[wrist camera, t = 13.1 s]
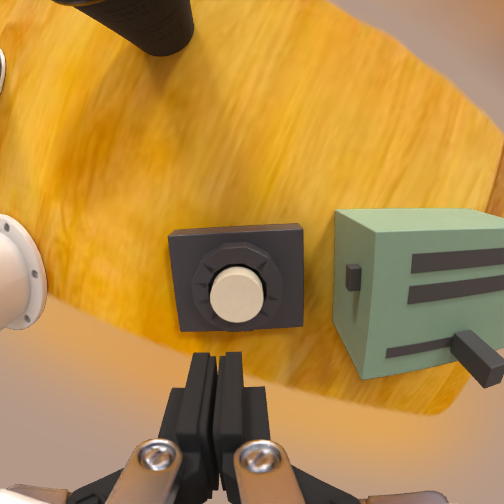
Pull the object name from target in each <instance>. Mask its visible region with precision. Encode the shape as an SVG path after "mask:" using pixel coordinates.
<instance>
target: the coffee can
mask: <svg viewBox="0 0 504 504" xmlns="http://www.w3.org/2000/svg"><path fill="white" fill-rule="evenodd" d="M5 67H6V63H5V57H4V54H3V52H2V50H1V49H0V93H1V90H2V87H3V83H4V78H5Z"/></svg>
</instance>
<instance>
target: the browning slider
mask: <svg viewBox="0 0 504 504" xmlns="http://www.w3.org/2000/svg"><path fill="white" fill-rule="evenodd" d="M450 352H451V353H452V355H453V356H454V357H455V358H456V359H457V360H458V361H459V362H460V363H461V364H462V365H463V366H464V367H465V368H466V369H467V371H468V372H469V373H470V374H471V375H472V376H473V377H474V378H475V379H476V380H477V381H478V383H479V384H480V385H481V386H482V387H483V388H488V387H490V386H493V385H496V384H498V383H500V382H501V380H502V378H503V375H504V359H503V358H502V357H501V356H500V355H499V354H498V353H497V352H496V351H495V350H493V349H492V348H491V347H490V346H489V345H488V344H487V343H486V342H484V341H483V340H482V339H481V338H480V337H479V336H478V335H476V334H475V333H474V332H473V331H472V330H466V331H461V332H456V333H454V337H453V341H452V345H451V349H450Z"/></svg>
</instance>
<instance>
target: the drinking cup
mask: <svg viewBox="0 0 504 504" xmlns="http://www.w3.org/2000/svg"><path fill="white" fill-rule="evenodd" d="M52 1H54V2H55V3H58V4H60V5H64V6H73V7H75V8H76V9H78V10H80V11H81V12H83V13H85V14H87V15H88V16H90V17H92V18H93V19H95V20H97V21H98V22H100V23H102V24H103V25H105V26H106V27H108V28H110V29H111V30H113V31H114V32H116V33H118V34H119V35H121V36H122V37H124V38H125V39H127V40H128V41H130V42H131V43H133V44H134V45H136V46H137V47H139V48H140V49H142V50H143V51H145V52H146V53H148V54H150V55H153V56H168V55H171V54H174V53H176V52H178V51H180V50H181V49H182V48H184V47H185V46H186V45H187V44H188V42H189V41H190V39H191V38H192V35H193V32H194V23H193V17H192V11H191V5H190V0H52Z"/></svg>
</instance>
